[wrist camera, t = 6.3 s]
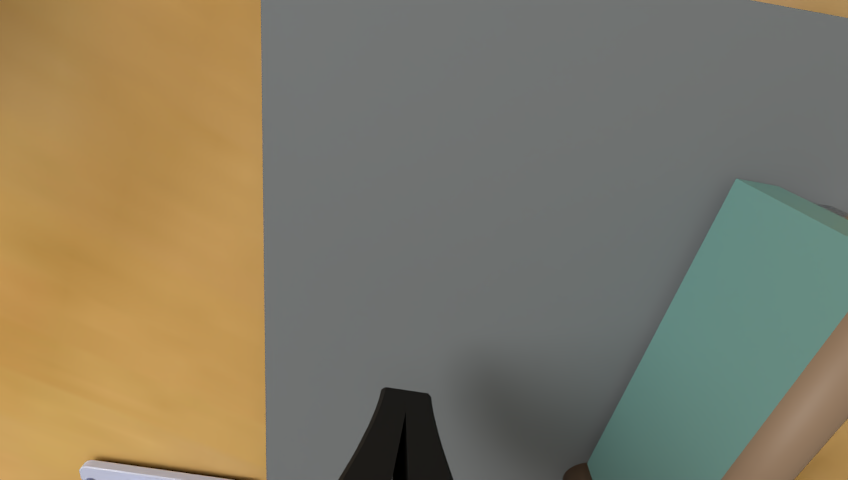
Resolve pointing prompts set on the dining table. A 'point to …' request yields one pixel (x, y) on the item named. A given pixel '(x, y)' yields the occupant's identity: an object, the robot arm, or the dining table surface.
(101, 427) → the dining table surface
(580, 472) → the hinge post
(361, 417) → the slate mat
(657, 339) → the gate
